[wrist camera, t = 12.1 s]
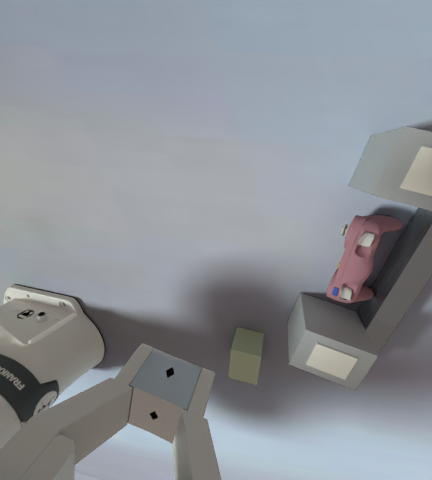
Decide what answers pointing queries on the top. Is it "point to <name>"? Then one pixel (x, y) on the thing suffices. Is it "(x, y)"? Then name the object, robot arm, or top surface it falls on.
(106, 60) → the top surface
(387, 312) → the rail bar
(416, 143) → the mounted modules
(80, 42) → the top surface
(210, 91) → the top surface
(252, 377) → the block
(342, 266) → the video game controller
